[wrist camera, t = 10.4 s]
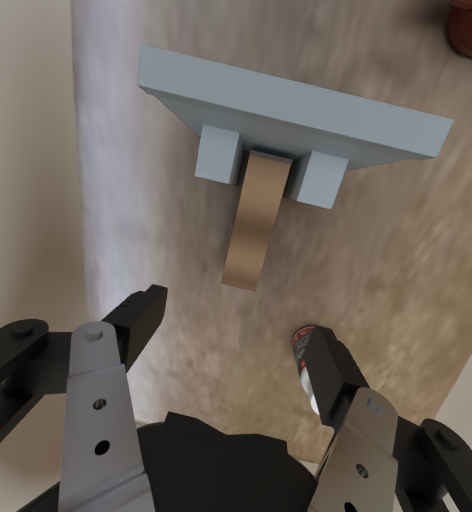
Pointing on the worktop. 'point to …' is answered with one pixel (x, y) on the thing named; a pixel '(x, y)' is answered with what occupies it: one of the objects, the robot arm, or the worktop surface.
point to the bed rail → (255, 218)
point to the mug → (461, 25)
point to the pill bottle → (299, 348)
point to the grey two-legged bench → (284, 123)
